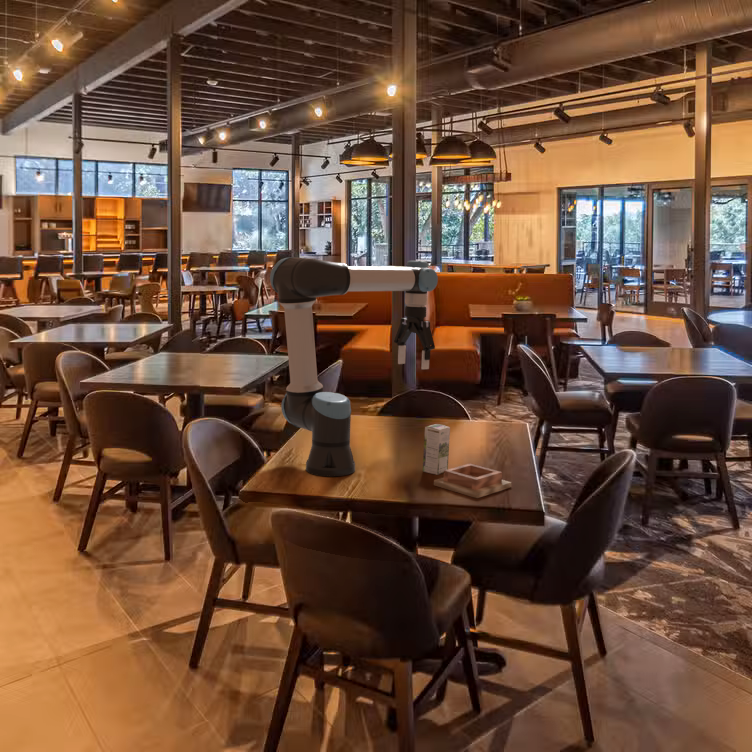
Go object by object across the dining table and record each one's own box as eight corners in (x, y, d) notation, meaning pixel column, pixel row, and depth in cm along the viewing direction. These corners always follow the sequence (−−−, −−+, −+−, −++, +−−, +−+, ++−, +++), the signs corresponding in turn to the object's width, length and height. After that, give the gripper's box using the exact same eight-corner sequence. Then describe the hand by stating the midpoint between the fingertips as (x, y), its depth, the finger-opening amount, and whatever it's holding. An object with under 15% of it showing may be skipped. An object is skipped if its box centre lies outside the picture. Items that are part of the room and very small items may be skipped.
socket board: (476, 498, 222) (477, 482, 222) (433, 485, 233) (434, 470, 233) (511, 487, 233) (511, 472, 233) (468, 475, 245) (469, 460, 244)
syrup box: (433, 468, 251) (434, 423, 249) (448, 471, 248) (450, 426, 245) (422, 471, 247) (424, 426, 245) (438, 475, 243) (439, 429, 241)
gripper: (447, 308, 268) (444, 370, 271) (402, 303, 288) (400, 361, 291) (429, 308, 264) (426, 372, 267) (386, 303, 284) (383, 362, 287)
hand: (413, 366), depth 279 cm, fingers open, 13 cm apart
